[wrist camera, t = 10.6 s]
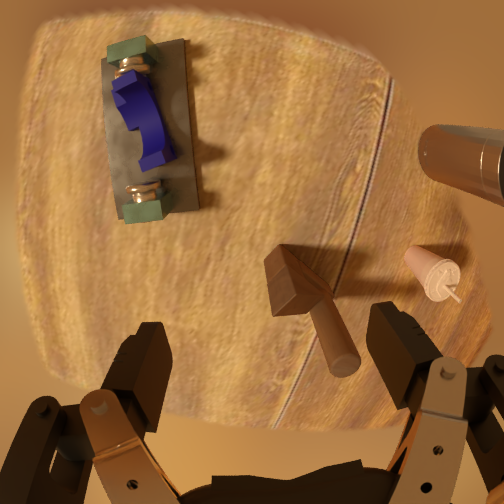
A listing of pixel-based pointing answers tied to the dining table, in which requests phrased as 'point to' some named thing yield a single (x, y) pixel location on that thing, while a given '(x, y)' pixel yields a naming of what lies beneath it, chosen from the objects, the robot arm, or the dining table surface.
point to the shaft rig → (130, 142)
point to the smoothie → (434, 273)
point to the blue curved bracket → (143, 118)
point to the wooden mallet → (310, 308)
